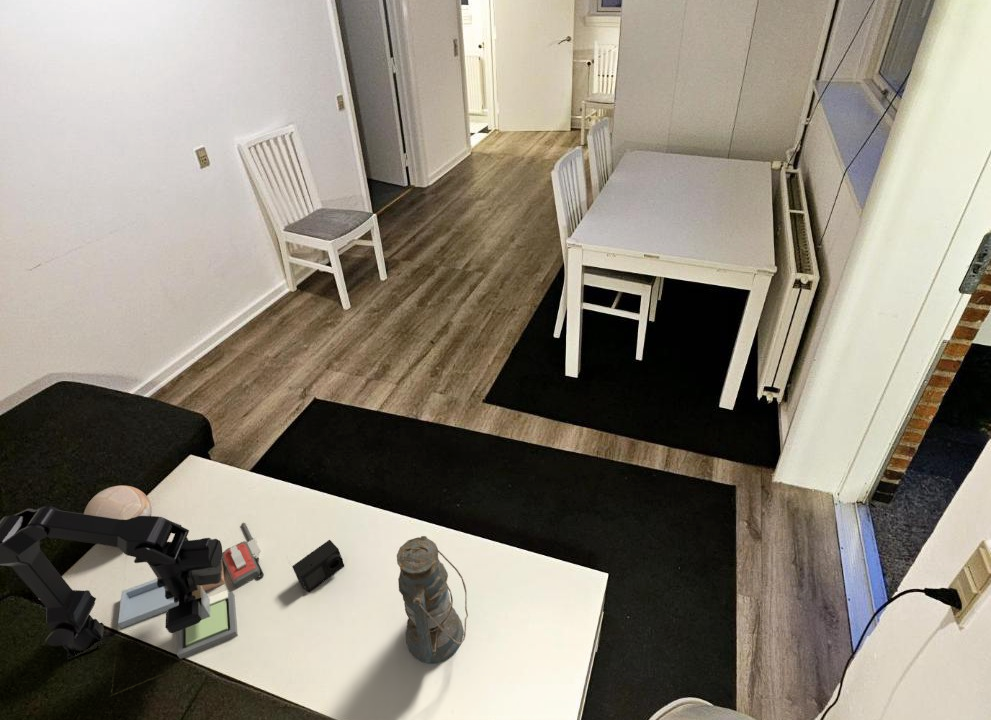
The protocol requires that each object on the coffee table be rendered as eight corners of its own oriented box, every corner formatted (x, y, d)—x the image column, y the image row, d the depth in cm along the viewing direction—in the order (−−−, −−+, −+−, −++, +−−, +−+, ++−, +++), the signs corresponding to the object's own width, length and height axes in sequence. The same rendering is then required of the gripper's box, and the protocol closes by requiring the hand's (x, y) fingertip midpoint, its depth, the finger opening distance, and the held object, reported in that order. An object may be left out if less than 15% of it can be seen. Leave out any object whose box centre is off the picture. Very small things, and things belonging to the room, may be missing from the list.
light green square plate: (187, 646, 125) (185, 644, 124) (187, 617, 130) (185, 615, 130) (228, 630, 127) (226, 628, 127) (226, 602, 133) (225, 600, 133)
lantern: (410, 595, 133) (390, 511, 116) (471, 592, 133) (459, 508, 116) (401, 681, 118) (375, 599, 100) (469, 678, 117) (456, 595, 100)
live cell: (188, 625, 124) (177, 608, 120) (188, 607, 127) (177, 591, 124) (210, 616, 125) (200, 600, 122) (209, 599, 129) (199, 583, 125)
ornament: (96, 529, 155) (69, 492, 146) (155, 502, 162) (132, 465, 153) (103, 566, 145) (74, 529, 136) (165, 536, 152) (142, 498, 143)
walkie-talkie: (273, 575, 141) (248, 524, 154) (268, 564, 138) (243, 513, 151) (237, 595, 136) (215, 541, 150) (231, 584, 134) (209, 531, 147)
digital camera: (310, 597, 135) (303, 580, 131) (299, 583, 138) (291, 566, 134) (347, 569, 140) (341, 551, 136) (335, 556, 144) (329, 539, 140)
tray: (123, 629, 130) (118, 623, 129) (126, 597, 137) (121, 591, 136) (183, 606, 134) (179, 600, 133) (183, 575, 141) (180, 569, 140)
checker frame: (181, 660, 124) (176, 654, 122) (181, 615, 132) (177, 609, 131) (238, 636, 127) (234, 630, 126) (235, 594, 136) (231, 588, 135)
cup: (199, 594, 137) (191, 582, 134) (198, 575, 141) (191, 563, 138) (225, 584, 139) (218, 572, 136) (224, 565, 143) (217, 553, 140)
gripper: (214, 588, 112) (238, 630, 121) (210, 520, 126) (233, 562, 135) (152, 611, 109) (182, 653, 118) (156, 539, 123) (182, 581, 132)
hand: (197, 609), depth 126 cm, fingers closed on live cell, 4 cm apart
